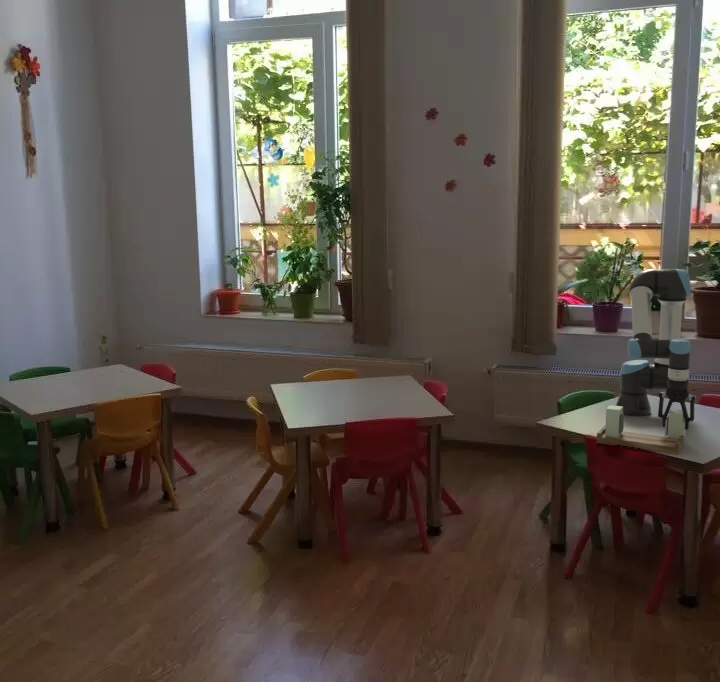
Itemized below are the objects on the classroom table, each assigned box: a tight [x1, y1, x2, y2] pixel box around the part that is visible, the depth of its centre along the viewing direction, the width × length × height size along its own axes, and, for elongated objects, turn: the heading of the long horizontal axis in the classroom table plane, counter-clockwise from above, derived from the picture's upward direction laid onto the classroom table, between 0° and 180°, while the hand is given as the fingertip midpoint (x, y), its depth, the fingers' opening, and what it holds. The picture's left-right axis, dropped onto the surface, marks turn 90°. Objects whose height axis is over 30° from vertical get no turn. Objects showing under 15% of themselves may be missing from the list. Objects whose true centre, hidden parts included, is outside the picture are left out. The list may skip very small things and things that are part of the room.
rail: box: [596, 425, 685, 455], centre depth 293 cm, size 12×30×4 cm, turn 58°
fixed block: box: [605, 404, 625, 437], centre depth 297 cm, size 6×6×11 cm
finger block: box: [666, 408, 685, 439], centre depth 296 cm, size 6×6×11 cm
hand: (674, 436), depth 297 cm, fingers closed on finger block, 6 cm apart
